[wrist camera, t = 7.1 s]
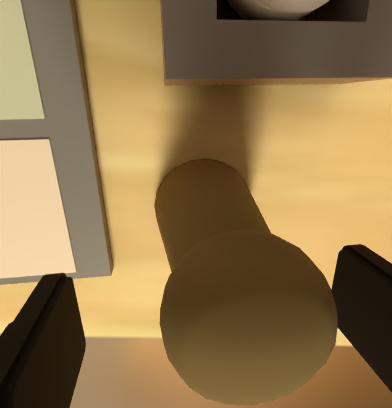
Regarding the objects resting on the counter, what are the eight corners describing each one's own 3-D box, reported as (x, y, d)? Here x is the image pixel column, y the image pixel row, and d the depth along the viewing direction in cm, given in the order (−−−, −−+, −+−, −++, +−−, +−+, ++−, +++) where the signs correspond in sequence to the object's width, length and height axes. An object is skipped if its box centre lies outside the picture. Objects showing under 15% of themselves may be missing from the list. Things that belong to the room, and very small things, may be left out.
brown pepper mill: (134, 215, 17) (90, 396, 6) (196, 137, 15) (264, 205, 5) (208, 263, 18) (265, 464, 8) (268, 197, 17) (424, 335, 7)
